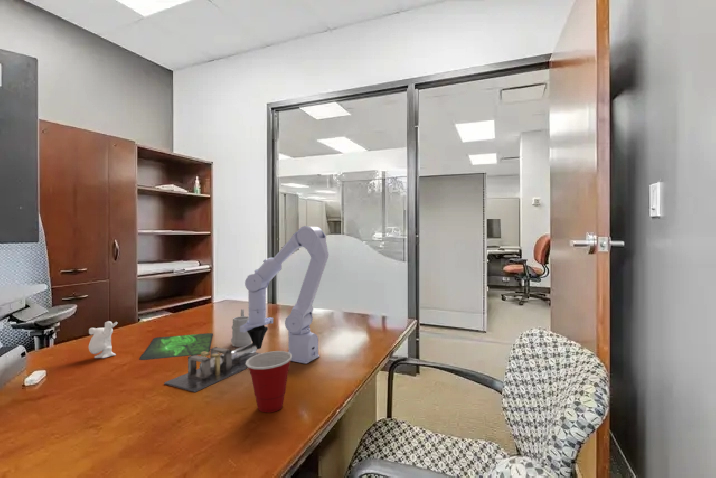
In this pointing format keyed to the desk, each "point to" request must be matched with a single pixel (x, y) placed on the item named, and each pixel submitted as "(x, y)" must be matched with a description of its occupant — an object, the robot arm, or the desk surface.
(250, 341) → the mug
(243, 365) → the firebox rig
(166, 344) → the mouse mat
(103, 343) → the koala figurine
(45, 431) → the desk surface
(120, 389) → the desk surface
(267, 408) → the plastic cup
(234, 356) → the tube
